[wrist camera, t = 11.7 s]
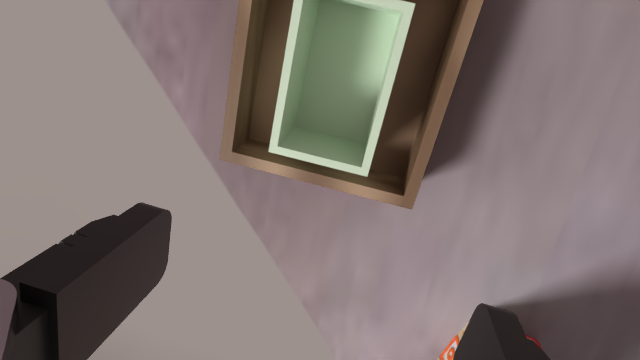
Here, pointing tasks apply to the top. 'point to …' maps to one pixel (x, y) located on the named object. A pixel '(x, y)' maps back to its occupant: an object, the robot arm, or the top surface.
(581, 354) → the top surface
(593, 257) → the top surface
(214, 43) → the top surface
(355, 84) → the small crate
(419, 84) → the big crate
